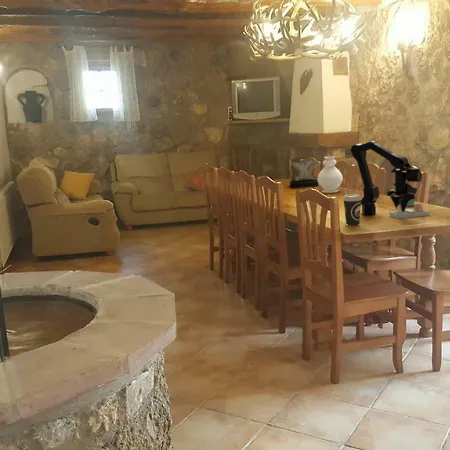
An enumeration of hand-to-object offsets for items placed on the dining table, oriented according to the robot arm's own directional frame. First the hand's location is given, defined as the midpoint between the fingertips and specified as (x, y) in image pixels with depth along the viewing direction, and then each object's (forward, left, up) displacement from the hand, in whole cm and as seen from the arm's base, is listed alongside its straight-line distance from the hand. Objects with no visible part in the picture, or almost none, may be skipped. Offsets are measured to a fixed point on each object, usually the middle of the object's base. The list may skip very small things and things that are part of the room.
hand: (400, 210), depth 281 cm
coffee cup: (-29, -5, -4) cm, 30 cm away
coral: (-3, +143, -4) cm, 143 cm away
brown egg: (+10, 0, -3) cm, 10 cm away
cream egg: (0, 0, -3) cm, 3 cm away
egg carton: (+5, 0, -4) cm, 6 cm away
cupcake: (+21, +29, -4) cm, 36 cm away
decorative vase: (+3, +107, -4) cm, 107 cm away
